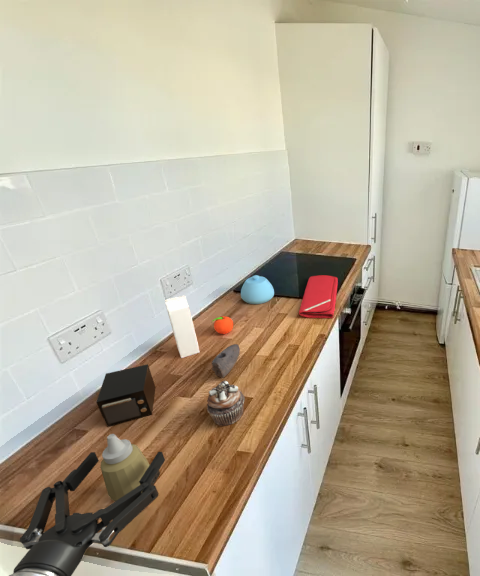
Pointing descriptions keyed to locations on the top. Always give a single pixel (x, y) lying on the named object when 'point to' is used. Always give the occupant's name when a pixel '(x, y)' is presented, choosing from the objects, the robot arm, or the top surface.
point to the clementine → (223, 324)
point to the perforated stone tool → (225, 360)
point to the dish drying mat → (319, 297)
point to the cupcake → (225, 404)
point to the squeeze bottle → (122, 466)
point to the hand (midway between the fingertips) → (128, 456)
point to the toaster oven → (126, 395)
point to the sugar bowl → (257, 290)
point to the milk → (182, 326)
